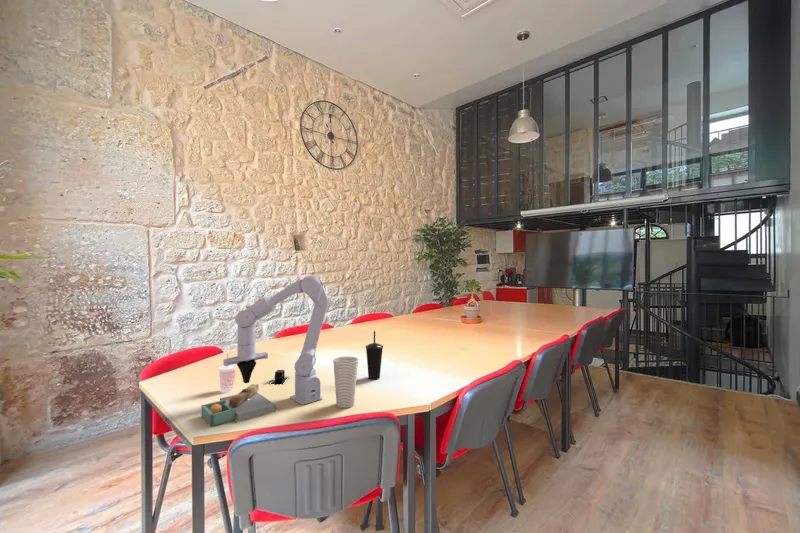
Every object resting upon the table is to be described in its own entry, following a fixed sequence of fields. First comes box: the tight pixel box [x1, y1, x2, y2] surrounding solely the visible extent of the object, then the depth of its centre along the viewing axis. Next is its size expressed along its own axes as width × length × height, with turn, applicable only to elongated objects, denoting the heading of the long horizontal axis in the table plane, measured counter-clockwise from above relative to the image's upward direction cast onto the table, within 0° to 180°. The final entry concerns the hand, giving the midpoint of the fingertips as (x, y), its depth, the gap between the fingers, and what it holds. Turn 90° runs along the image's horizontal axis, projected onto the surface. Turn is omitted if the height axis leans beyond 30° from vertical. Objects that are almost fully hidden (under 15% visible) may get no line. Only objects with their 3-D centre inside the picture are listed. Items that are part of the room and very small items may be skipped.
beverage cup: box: [218, 353, 237, 394], centre depth 130 cm, size 6×6×14 cm
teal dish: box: [200, 400, 236, 428], centre depth 106 cm, size 10×7×4 cm
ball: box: [210, 404, 222, 414], centre depth 107 cm, size 4×4×4 cm
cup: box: [333, 356, 359, 409], centre depth 117 cm, size 8×8×16 cm
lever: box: [229, 383, 260, 407], centre depth 115 cm, size 14×2×3 cm, turn 176°
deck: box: [219, 392, 276, 423], centre depth 114 cm, size 18×12×2 cm, turn 44°
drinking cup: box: [365, 331, 384, 381], centre depth 147 cm, size 8×8×20 cm
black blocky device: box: [268, 369, 289, 386], centre depth 143 cm, size 12×7×5 cm, turn 3°
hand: (246, 382), depth 121 cm, fingers closed
